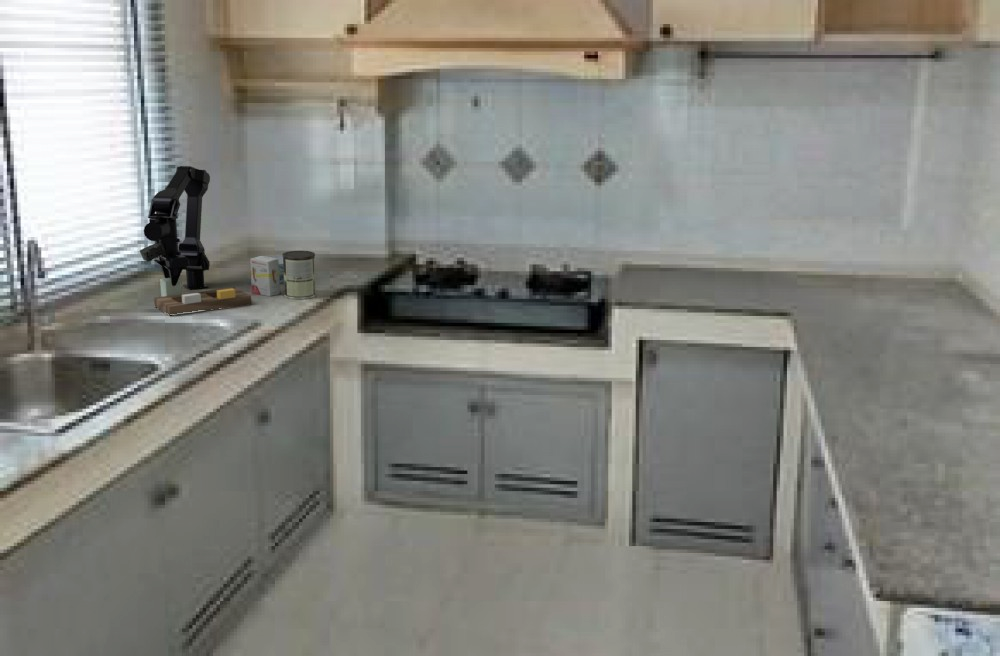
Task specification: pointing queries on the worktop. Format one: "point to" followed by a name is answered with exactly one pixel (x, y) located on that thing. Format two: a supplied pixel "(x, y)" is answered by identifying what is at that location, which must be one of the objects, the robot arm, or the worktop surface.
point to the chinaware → (281, 271)
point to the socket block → (203, 300)
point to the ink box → (265, 275)
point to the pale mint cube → (170, 287)
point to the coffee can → (299, 274)
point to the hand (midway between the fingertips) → (171, 284)
